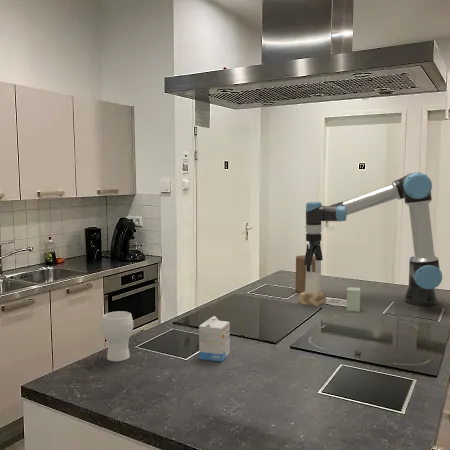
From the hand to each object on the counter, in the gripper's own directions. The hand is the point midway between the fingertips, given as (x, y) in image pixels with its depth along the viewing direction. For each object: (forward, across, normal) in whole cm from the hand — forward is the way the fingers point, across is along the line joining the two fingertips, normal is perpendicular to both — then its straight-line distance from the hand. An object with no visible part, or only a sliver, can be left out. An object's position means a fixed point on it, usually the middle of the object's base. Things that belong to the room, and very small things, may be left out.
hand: (313, 275), depth 231 cm
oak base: (+14, 0, -1) cm, 14 cm away
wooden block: (+14, -18, -10) cm, 24 cm away
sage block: (+14, +3, +20) cm, 25 cm away
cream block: (+9, 0, 0) cm, 9 cm away
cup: (+13, +103, -35) cm, 109 cm away
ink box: (+13, +85, -7) cm, 86 cm away
